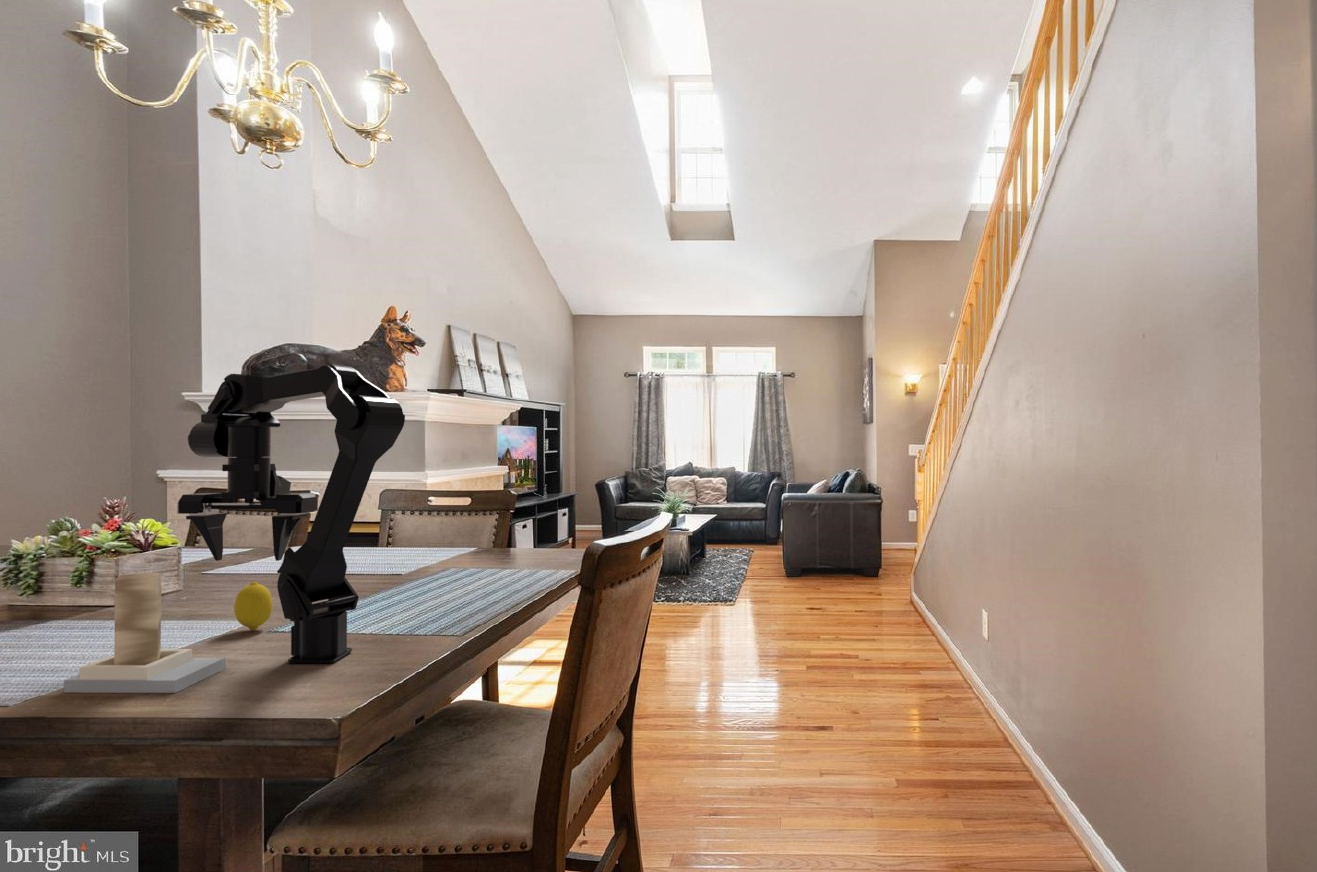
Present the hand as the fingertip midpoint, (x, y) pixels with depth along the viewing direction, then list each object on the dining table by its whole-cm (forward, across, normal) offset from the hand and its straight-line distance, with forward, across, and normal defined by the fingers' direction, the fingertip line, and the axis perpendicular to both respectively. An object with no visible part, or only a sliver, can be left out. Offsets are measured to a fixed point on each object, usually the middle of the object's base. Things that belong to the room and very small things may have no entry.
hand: (248, 560), depth 113 cm
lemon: (+13, +5, -10) cm, 17 cm away
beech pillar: (+12, +4, +17) cm, 21 cm away
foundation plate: (+13, +4, +16) cm, 21 cm away
